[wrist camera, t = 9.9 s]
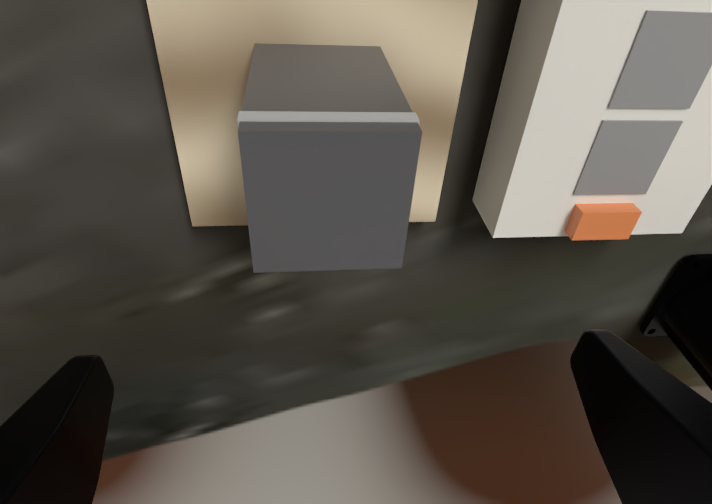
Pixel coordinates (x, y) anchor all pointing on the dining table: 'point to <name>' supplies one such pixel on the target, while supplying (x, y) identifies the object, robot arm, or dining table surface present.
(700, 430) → the robot arm
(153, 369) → the dining table surface
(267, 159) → the block
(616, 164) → the switch housing
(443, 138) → the birch pad
